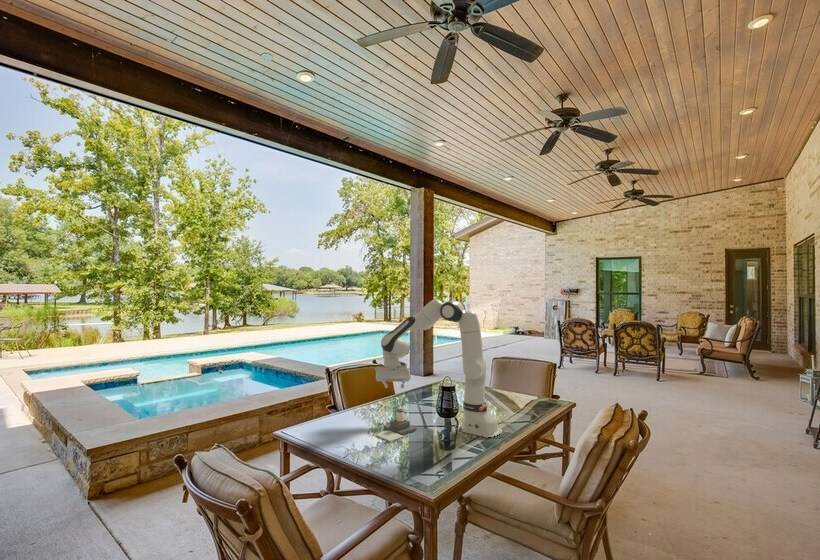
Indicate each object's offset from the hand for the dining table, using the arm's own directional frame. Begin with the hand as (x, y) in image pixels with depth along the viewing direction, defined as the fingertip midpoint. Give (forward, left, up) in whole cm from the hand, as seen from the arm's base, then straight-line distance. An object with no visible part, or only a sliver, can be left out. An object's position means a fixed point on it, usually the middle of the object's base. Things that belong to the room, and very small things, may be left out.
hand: (394, 387), depth 226 cm
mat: (-15, +17, -19) cm, 30 cm away
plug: (-11, +6, -18) cm, 22 cm away
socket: (-11, +6, -19) cm, 23 cm away
